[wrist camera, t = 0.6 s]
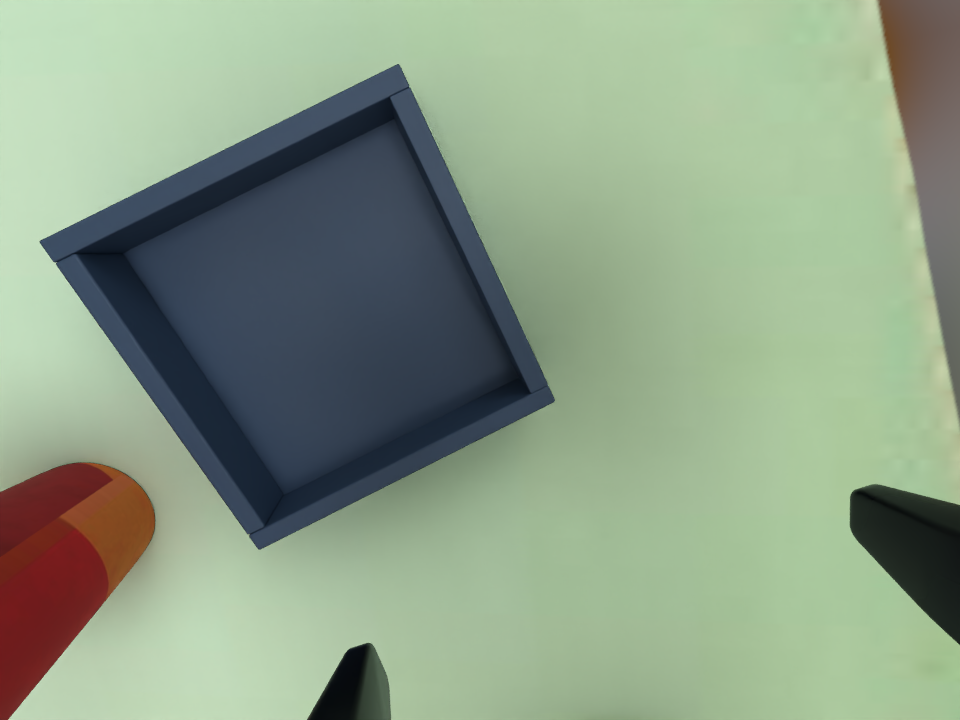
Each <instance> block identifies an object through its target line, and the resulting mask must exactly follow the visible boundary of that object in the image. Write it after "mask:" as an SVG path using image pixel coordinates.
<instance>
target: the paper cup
mask: <svg viewBox="0 0 960 720" xmlns="http://www.w3.org/2000/svg"><path fill="white" fill-rule="evenodd" d="M154 528H155V515H154V510H153V507H152V504H151V502H150V500H149V498H148V496H147V495H146V493H145V492H144V490H143V489H142V488H141V487H140V486H139V485H138V484H137V483H136V482H135V481H134V480H133V479H131V478H130V477H129V476H127V475H125V474H124V473H122V472H120V471H118V470H116V469H114V468H111V467H108V466H105V465H101V464H95V463H72V464H66V465H63V466H59V467H56V468H53V469H51V470H48V471H46V472H44V473H41V474H39V475H37V476H34V477H32V478H30V479H28V480H26V481H24V482H21V483H19V484H17V485H15V486H13V487H11V488H8V489H6V490H4V491H2V492H0V720H8V719H9V718H10V717H11V715H12V714H13V713H14V712H15V711H16V709H17V708H18V707H19V706H20V705H21V703H22V702H23V701H24V700H25V698H26V697H27V696H28V695H29V694H30V692H31V691H32V690H33V689H34V687H35V686H36V685H37V684H38V683H39V681H40V680H41V679H42V678H43V677H44V675H45V674H46V673H47V672H48V670H49V669H50V668H51V667H52V666H53V664H54V663H55V662H56V661H57V659H58V658H59V657H60V656H61V655H62V653H63V652H64V651H65V650H66V648H67V647H68V646H69V645H70V644H71V642H72V641H73V640H74V639H75V637H76V636H77V635H78V634H79V633H80V631H81V630H82V629H83V628H84V626H85V625H86V624H87V623H88V621H89V620H90V619H91V618H92V617H93V615H94V614H95V613H96V612H97V610H98V609H99V608H100V607H101V605H102V604H103V603H104V602H105V601H106V599H107V598H108V597H109V596H110V594H111V593H112V592H113V591H114V589H115V588H116V587H117V586H118V584H119V583H120V582H121V581H122V580H123V578H124V577H125V576H126V574H127V573H128V572H129V571H130V569H131V568H132V567H133V566H134V564H135V563H136V562H137V560H138V559H139V558H140V556H141V555H142V554H143V552H144V551H145V549H146V548H147V546H148V544H149V543H150V541H151V538H152V536H153V533H154Z"/></svg>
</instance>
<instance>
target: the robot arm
mask: <svg viewBox="0 0 960 720" xmlns="http://www.w3.org/2000/svg"><path fill="white" fill-rule="evenodd" d="M850 528H851V531H852V533H853V535H854V537H855V538H856V539H857V541H858V542H859V543H860V544H861V545H862V546H863V547H864V548H865V549H866V550H867V551H868V552H869V554H870V555H871V556H872V557H873V558H874V559H875V560H876V561H877V562H878V563H879V564H880V565H881V566H882V567H883V568H884V569H885V571H886V572H887V573H888V574H889V575H890V576H891V577H892V578H893V579H894V580H895V581H896V582H897V583H898V584H899V585H900V587H901V588H902V589H903V590H904V591H905V592H906V593H907V594H908V595H909V596H910V597H911V598H912V599H913V600H914V601H915V602H916V604H917V605H918V606H919V607H920V608H921V609H922V610H923V611H924V612H925V613H926V614H927V615H928V616H929V617H930V618H931V619H932V620H933V621H935V622H936V623H937V624H938V625H939V626H940V627H941V628H942V629H943V630H944V631H945V632H946V633H947V634H948V635H950V636H951V637H952V638H953V639H954V640H955V641H956V642H957V643H958V644H959V645H960V505H957V504H953V503H949V502H946V501H942V500H938V499H934V498H930V497H926V496H922V495H918V494H914V493H910V492H906V491H902V490H898V489H894V488H890V487H886V486H882V485H878V484H873V485H869V486H865V487H862V488H859V489H856V490H854V491H853V492H852V493H851V496H850ZM307 720H391V710H390V691H389V683H388V678H387V675H386V672H385V670H384V668H383V665H382V663H381V661H380V659H379V656H378V654H377V652H376V649H375V647H374V646H373V645H372V644H371V643H366V644H362V645H359V646H356V647H353V648H350V649H349V650H348V651H347V652H346V653H345V654H344V656H343V658H342V660H341V661H340V663H339V665H338V667H337V668H336V670H335V672H334V674H333V675H332V677H331V679H330V681H329V682H328V684H327V686H326V688H325V689H324V691H323V693H322V695H321V696H320V698H319V700H318V701H317V703H316V705H315V707H314V708H313V710H312V712H311V714H310V715H309V717H308V719H307Z"/></svg>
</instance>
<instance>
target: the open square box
mask: <svg viewBox="0 0 960 720" xmlns="http://www.w3.org/2000/svg"><path fill="white" fill-rule="evenodd" d="M40 244H41V245H42V246H43V248H44V249H45V251H46V252H47V253H48V255H49V256H50V258H51V259H52V260H53V262H57V263H56V265H57V267H58V268H59V269H60V271H61V272H62V274H63V275H64V276H65V278H66V279H67V281H68V282H69V283H70V285H71V286H72V288H73V289H74V291H75V292H76V293H77V295H78V296H79V298H80V299H81V300H82V302H83V303H84V305H85V306H86V307H87V309H88V310H89V312H90V313H91V314H92V316H93V317H94V319H95V320H96V321H97V323H98V324H99V326H100V327H101V329H102V330H103V331H104V333H105V334H106V336H107V337H108V338H109V340H110V341H111V343H112V344H113V345H114V347H115V348H116V350H117V351H118V352H119V354H120V355H121V357H122V358H123V360H124V361H125V362H126V364H127V365H128V367H129V368H130V369H131V371H132V372H133V374H134V375H135V376H136V378H137V379H138V381H139V382H140V383H141V385H142V386H143V388H144V389H145V390H146V392H147V393H148V395H149V396H150V398H151V399H152V400H153V402H154V403H155V405H156V406H157V407H158V409H159V410H160V412H161V413H162V414H163V416H164V417H165V419H166V420H167V421H168V423H169V424H170V426H171V427H172V429H173V430H174V431H175V433H176V434H177V436H178V437H179V438H180V440H181V441H182V443H183V444H184V445H185V447H186V448H187V450H188V451H189V452H190V454H191V455H192V457H193V458H194V459H195V461H196V462H197V464H198V465H199V467H200V468H201V469H202V471H203V472H204V474H205V475H206V476H207V478H208V479H209V481H210V482H211V483H212V485H213V486H214V488H215V489H216V490H217V492H218V493H219V495H220V496H221V498H222V499H223V500H224V502H225V503H226V505H227V506H228V507H229V509H230V510H231V512H232V513H233V514H234V516H235V517H236V519H237V520H238V521H239V523H240V524H241V526H242V527H243V528H244V530H245V531H246V533H247V534H250V535H249V537H250V538H251V540H252V541H253V543H254V544H255V545H256V547H257V548H258V549H259V550H260V549H262V548H264V547H266V546H268V545H270V544H272V543H274V542H276V541H278V540H280V539H282V538H284V537H286V536H288V535H290V534H292V533H294V532H296V531H298V530H300V529H302V528H304V527H306V526H308V525H310V524H312V523H314V522H316V521H318V520H320V519H322V518H324V517H326V516H328V515H330V514H332V513H334V512H336V511H338V510H340V509H342V508H344V507H346V506H348V505H350V504H352V503H354V502H356V501H358V500H360V499H362V498H364V497H366V496H368V495H370V494H372V493H374V492H376V491H378V490H380V489H382V488H384V487H386V486H388V485H390V484H392V483H394V482H396V481H398V480H400V479H402V478H404V477H406V476H408V475H410V474H412V473H414V472H416V471H418V470H420V469H422V468H424V467H426V466H428V465H430V464H432V463H434V462H435V461H437V460H439V459H441V458H443V457H445V456H447V455H449V454H451V453H453V452H455V451H457V450H459V449H461V448H463V447H465V446H467V445H469V444H471V443H473V442H475V441H477V440H479V439H481V438H483V437H485V436H487V435H489V434H491V433H493V432H495V431H497V430H499V429H501V428H503V427H505V426H507V425H509V424H511V423H513V422H515V421H517V420H519V419H521V418H523V417H525V416H527V415H529V414H531V413H533V412H535V411H537V410H539V409H541V408H543V407H545V406H547V405H549V404H551V403H553V402H554V401H555V399H554V397H553V394H552V392H551V390H550V388H549V386H548V383H547V381H546V379H545V377H544V375H543V373H542V370H541V368H540V366H539V364H538V362H537V360H536V358H535V355H534V353H533V351H532V349H531V347H530V345H529V342H528V340H527V338H526V336H525V334H524V332H523V330H522V327H521V325H520V323H519V321H518V319H517V317H516V314H515V312H514V310H513V308H512V306H511V304H510V302H509V299H508V297H507V295H506V293H505V291H504V289H503V286H502V284H501V282H500V280H499V278H498V276H497V274H496V271H495V269H494V267H493V265H492V263H491V261H490V258H489V256H488V254H487V252H486V250H485V248H484V246H483V243H482V241H481V239H480V237H479V235H478V233H477V230H476V228H475V226H474V224H473V222H472V220H471V218H470V215H469V213H468V211H467V209H466V207H465V205H464V202H463V200H462V198H461V196H460V194H459V192H458V190H457V187H456V185H455V183H454V181H453V179H452V177H451V174H450V172H449V170H448V168H447V166H446V164H445V162H444V159H443V157H442V155H441V153H440V151H439V149H438V146H437V144H436V142H435V140H434V138H433V136H432V134H431V131H430V129H429V127H428V125H427V123H426V121H425V118H424V116H423V114H422V112H421V110H420V108H419V106H418V103H417V101H416V99H415V97H414V95H413V93H412V91H411V88H409V84H408V82H407V80H406V78H405V75H404V73H403V71H402V69H401V67H400V65H399V64H397V65H395V66H393V67H391V68H389V69H387V70H385V71H383V72H381V73H379V74H377V75H375V76H373V77H371V78H369V79H367V80H365V81H362V82H360V83H358V84H356V85H354V86H352V87H350V88H348V89H346V90H344V91H342V92H340V93H338V94H336V95H334V96H332V97H330V98H328V99H326V100H324V101H322V102H320V103H318V104H316V105H314V106H312V107H310V108H308V109H306V110H304V111H302V112H300V113H298V114H296V115H294V116H292V117H290V118H288V119H286V120H284V121H282V122H280V123H278V124H275V125H273V126H271V127H269V128H267V129H265V130H263V131H261V132H259V133H257V134H255V135H253V136H251V137H249V138H247V139H245V140H243V141H241V142H239V143H237V144H235V145H233V146H231V147H229V148H227V149H225V150H223V151H221V152H219V153H217V154H215V155H213V156H211V157H209V158H207V159H205V160H203V161H201V162H199V163H197V164H195V165H193V166H191V167H188V168H186V169H184V170H182V171H180V172H178V173H176V174H174V175H172V176H170V177H168V178H166V179H164V180H162V181H160V182H158V183H156V184H154V185H152V186H150V187H148V188H146V189H144V190H142V191H140V192H138V193H136V194H134V195H132V196H130V197H128V198H126V199H124V200H122V201H120V202H118V203H116V204H114V205H112V206H110V207H108V208H106V209H104V210H102V211H99V212H97V213H95V214H93V215H91V216H89V217H87V218H85V219H83V220H81V221H79V222H77V223H75V224H73V225H71V226H69V227H67V228H65V229H63V230H61V231H59V232H57V233H55V234H53V235H51V236H49V237H47V238H45V239H43V240H41V241H40Z"/></svg>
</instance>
